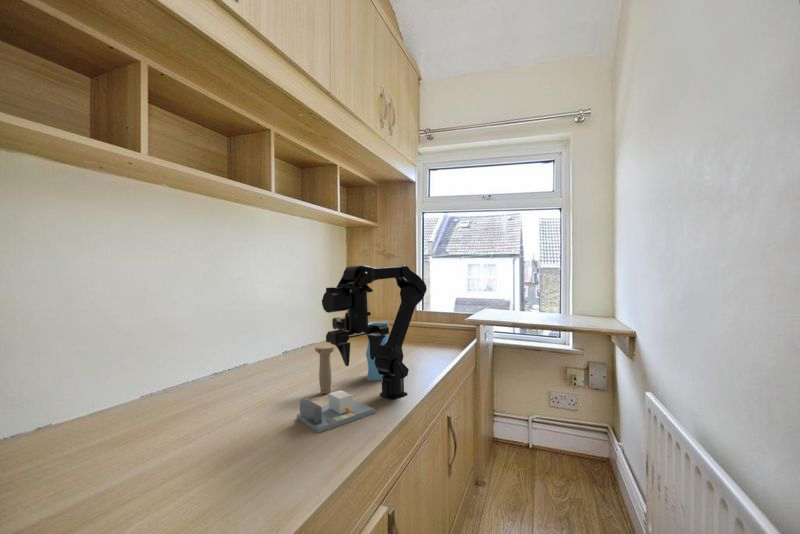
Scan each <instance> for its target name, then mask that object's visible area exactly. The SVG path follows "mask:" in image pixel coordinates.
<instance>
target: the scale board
mask: <svg viewBox="0 0 800 534" xmlns="http://www.w3.org/2000/svg"><path fill="white" fill-rule="evenodd" d="M321 409H322V423H320V424H318V425H313V424H311V423H310V422H308V421H307V420H305V419H304V418H302V417H300V412H299V413H297V414H296V419H297V420H298V421H300V422H301V423H303V424H304V425H306V426H307V427H308V428H310V429H312V430H314V431H315V432H316V433H318V434H319V433H323V432H326V431H328V430H330V429H333V428H336V427H338V426H343V425H345V424H347V423H350V422H353V421H356V420H359V419H362V418H364V417H367V416H369V415H373V414H375V408H374V407H371V406H369V405H367V404H365V403H363V402H360V401H358V400H356V399H354V398H353V414H351V413H349V412H345V413H342V414H339V413H337V412H335V411H333V410H331V409H329V404H325V405H323V406H321Z"/></svg>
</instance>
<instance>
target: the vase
mask: <svg viewBox="0 0 800 534" xmlns="http://www.w3.org/2000/svg"><path fill="white" fill-rule="evenodd" d="M376 323H380V324H387V326H388V327H389V324H390V323H389V321H378V322H377V321H375V322H373V321H372V322H371V321H370V322H368V326H369V325H370V324H376ZM367 335H369V334H367ZM385 335H386V337H384V338H383V340H382V342H381V344H380V345H384V344H385V343H387V341H388V334H385ZM367 339H368V338H367ZM365 356H366V360H367V367H368V369H367V377H366V381H383V380H382V376H384V375H379V373H378V370H377V368H376V366H375V363H374V362H375V358H376V357H375V358H374V360H372V359H371V358H370V343H369V339H368V342H367V349H366V353H365Z"/></svg>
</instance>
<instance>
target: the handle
mask: <svg viewBox="0 0 800 534" xmlns="http://www.w3.org/2000/svg"><path fill="white" fill-rule="evenodd" d="M314 350H315V352H316V353H318V354H319V367H318V368H319V371H318V375H319V376H318V377H319V378H318V379H319V380H318V382H319V388H320V389H319V390H320V393H321V394H322V395H328V394H329V393H332V389H331V387H332V367H331V366H332V365H331V353H333V352H334V351H335V345H328V344H327V345H325V344H323V345H317V346H314Z"/></svg>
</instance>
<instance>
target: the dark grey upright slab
mask: <svg viewBox="0 0 800 534" xmlns="http://www.w3.org/2000/svg"><path fill="white" fill-rule="evenodd" d="M321 407H322V406H320V405H318V404H317V403H315V402H313V401H311V400H310V399H308V398H306V399H303V400H299V413H300V417H302V418H304V419H305V420H307V421H308V422H310V423H311V424H313V425H318V424H320V423H322V409H321Z"/></svg>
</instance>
